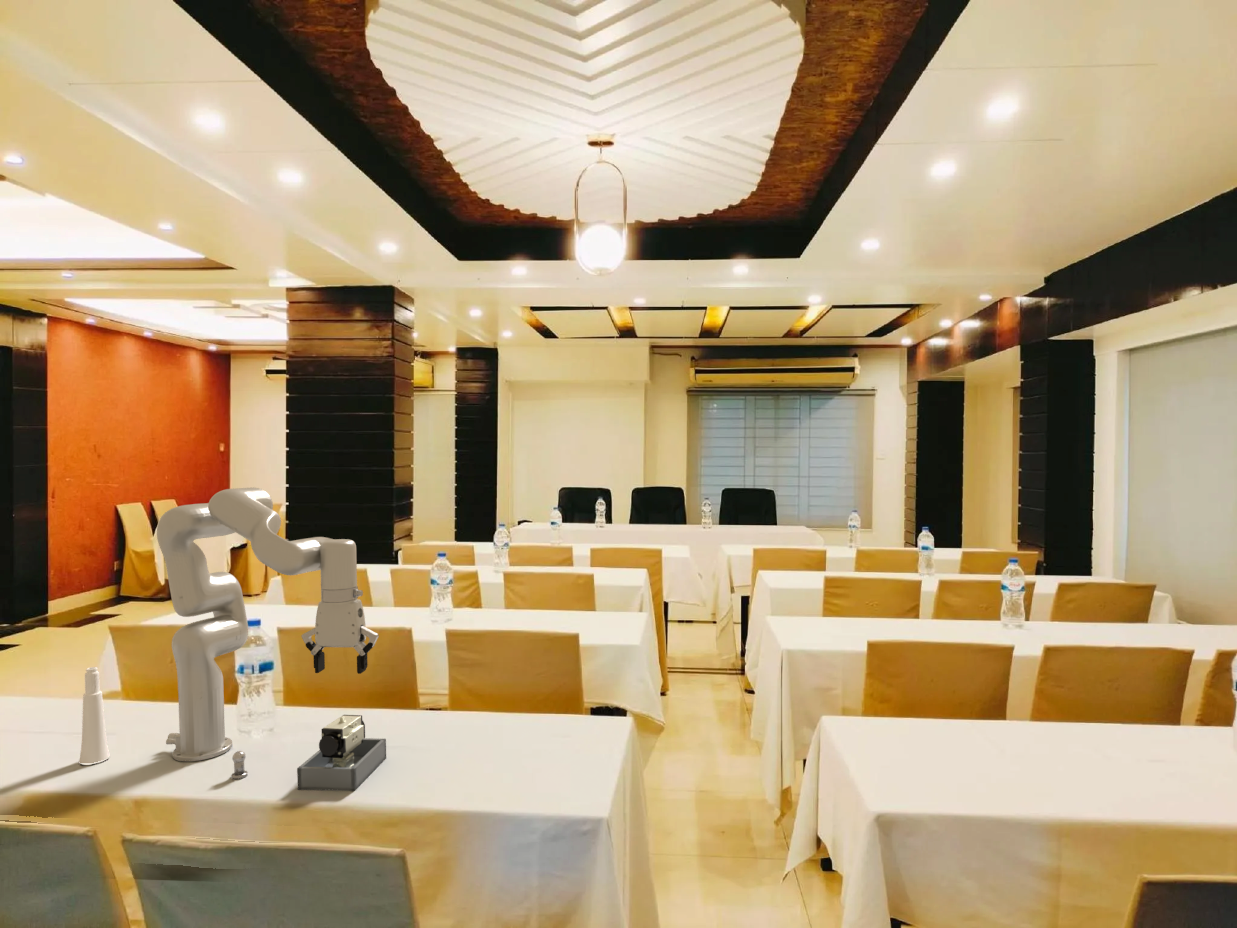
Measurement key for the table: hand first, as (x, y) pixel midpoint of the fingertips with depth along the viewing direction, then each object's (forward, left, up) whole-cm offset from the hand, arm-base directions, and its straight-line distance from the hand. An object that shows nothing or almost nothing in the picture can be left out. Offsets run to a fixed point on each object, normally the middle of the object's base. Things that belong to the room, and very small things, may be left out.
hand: (340, 671), depth 164 cm
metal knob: (-23, -3, -23) cm, 32 cm away
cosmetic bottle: (-63, +4, -23) cm, 68 cm away
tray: (0, 0, -23) cm, 23 cm away
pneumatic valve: (+1, 0, -22) cm, 22 cm away
